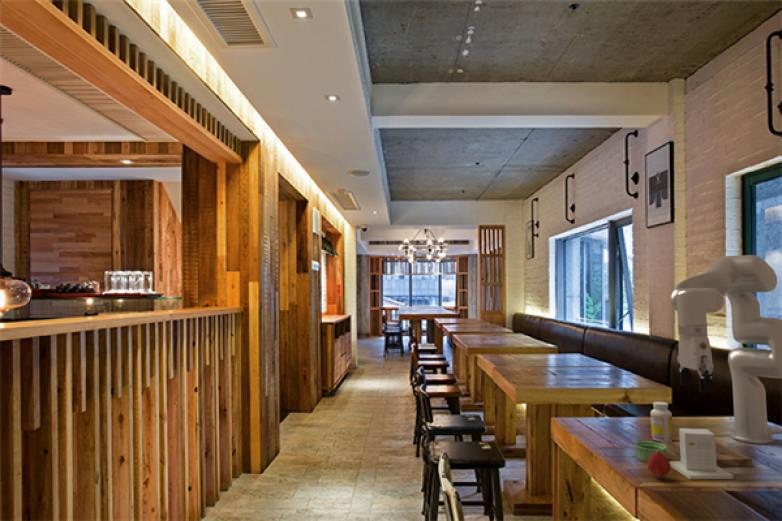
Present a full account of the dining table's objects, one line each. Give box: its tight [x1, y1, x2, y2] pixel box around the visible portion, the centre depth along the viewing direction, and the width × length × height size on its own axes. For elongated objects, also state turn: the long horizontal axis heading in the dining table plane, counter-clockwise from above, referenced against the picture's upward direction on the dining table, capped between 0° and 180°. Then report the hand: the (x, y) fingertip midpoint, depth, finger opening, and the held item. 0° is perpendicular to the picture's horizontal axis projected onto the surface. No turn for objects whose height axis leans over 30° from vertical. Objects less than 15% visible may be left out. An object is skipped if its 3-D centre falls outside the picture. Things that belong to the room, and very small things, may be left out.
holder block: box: [660, 441, 753, 467], centre depth 164 cm, size 18×18×2 cm
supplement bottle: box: [650, 401, 674, 443], centre depth 182 cm, size 7×7×13 cm
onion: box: [646, 450, 672, 479], centre depth 146 cm, size 6×6×8 cm
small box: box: [678, 428, 717, 471], centre depth 151 cm, size 8×6×10 cm
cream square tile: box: [669, 460, 734, 480], centre depth 151 cm, size 12×12×1 cm
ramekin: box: [634, 440, 667, 463], centre depth 162 cm, size 9×9×4 cm
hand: (695, 388), depth 153 cm, fingers open, 9 cm apart
